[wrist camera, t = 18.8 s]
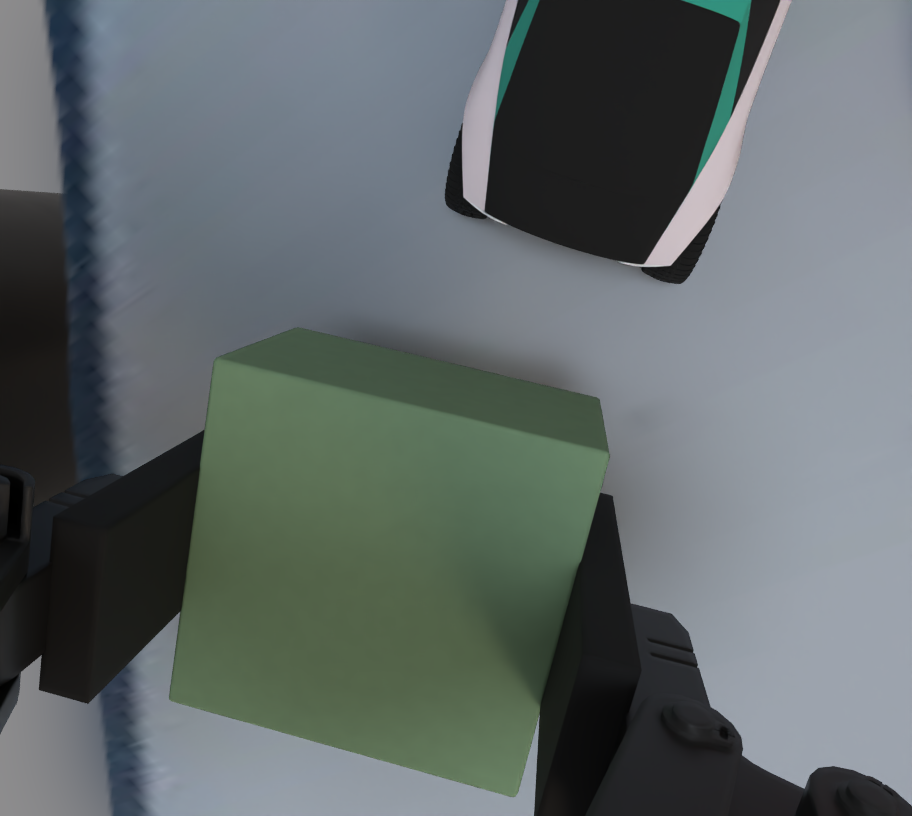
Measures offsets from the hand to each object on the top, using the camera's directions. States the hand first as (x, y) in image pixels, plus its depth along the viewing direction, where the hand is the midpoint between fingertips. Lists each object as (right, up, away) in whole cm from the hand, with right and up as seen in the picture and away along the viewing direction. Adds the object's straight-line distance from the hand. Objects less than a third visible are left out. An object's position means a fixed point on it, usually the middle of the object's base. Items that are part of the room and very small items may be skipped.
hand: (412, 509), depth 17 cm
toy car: (+6, +12, +2) cm, 13 cm away
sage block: (0, 0, 0) cm, 0 cm away
